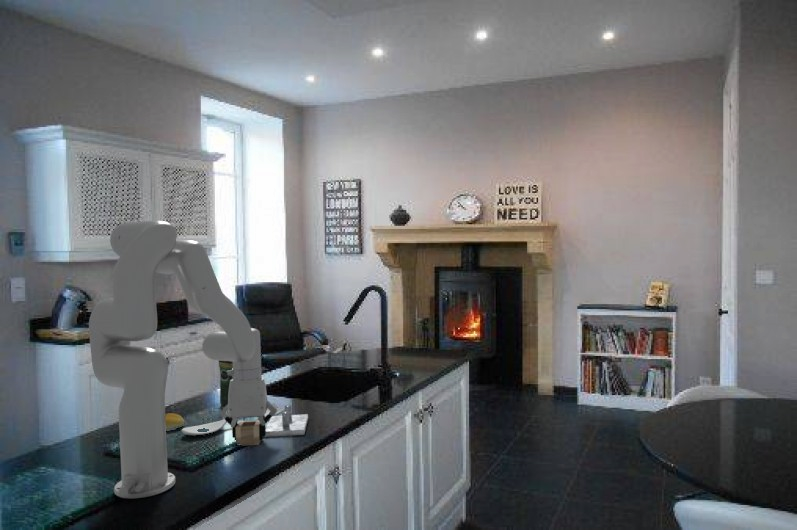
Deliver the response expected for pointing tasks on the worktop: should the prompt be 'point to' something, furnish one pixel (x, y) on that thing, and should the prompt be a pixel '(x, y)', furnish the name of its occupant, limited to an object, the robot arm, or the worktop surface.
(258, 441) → the hollow wooden block
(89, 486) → the worktop surface
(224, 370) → the coffee jar
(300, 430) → the housing plate
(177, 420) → the bread roll
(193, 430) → the spoon
